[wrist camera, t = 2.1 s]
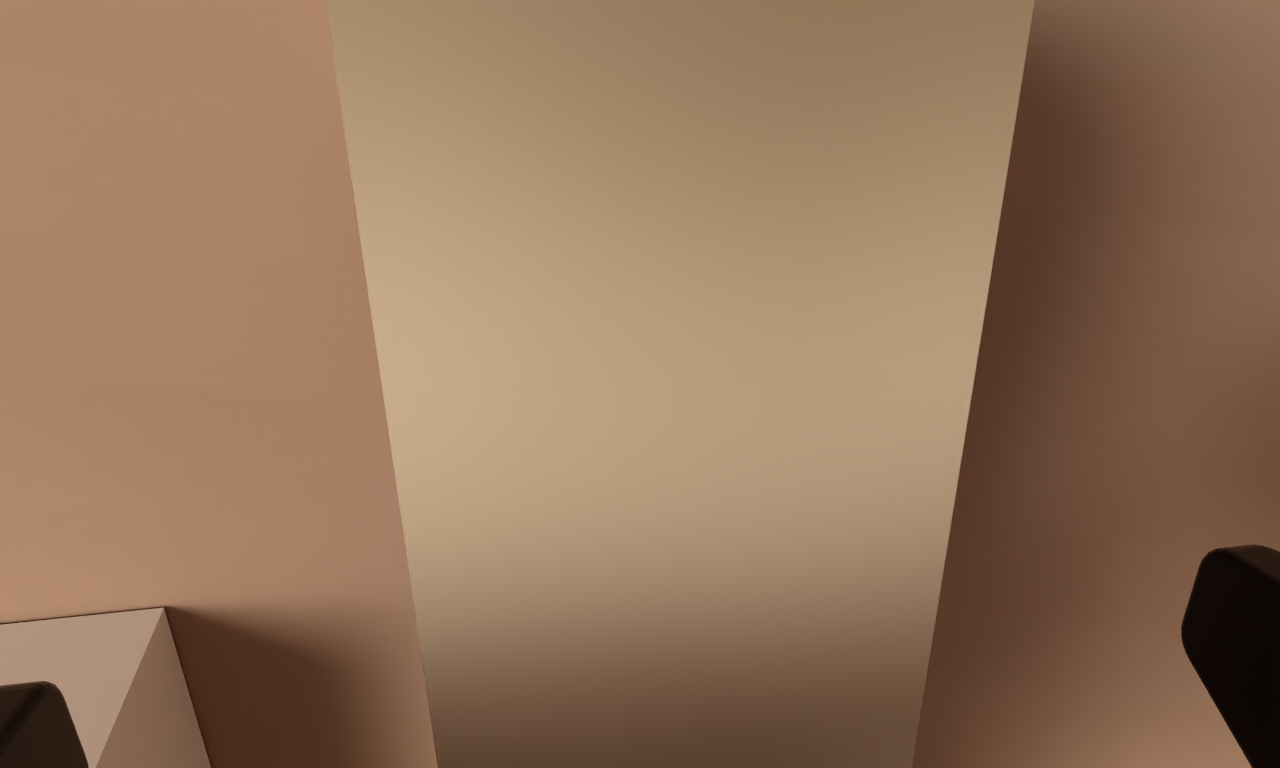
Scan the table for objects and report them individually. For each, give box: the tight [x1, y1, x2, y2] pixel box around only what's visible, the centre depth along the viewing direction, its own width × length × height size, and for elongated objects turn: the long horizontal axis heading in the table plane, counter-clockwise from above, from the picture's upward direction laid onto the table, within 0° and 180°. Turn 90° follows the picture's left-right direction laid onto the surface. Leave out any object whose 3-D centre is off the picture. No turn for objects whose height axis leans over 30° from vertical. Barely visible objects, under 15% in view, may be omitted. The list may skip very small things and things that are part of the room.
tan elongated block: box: [325, 0, 1035, 768], centre depth 11 cm, size 14×4×6 cm, turn 1°
